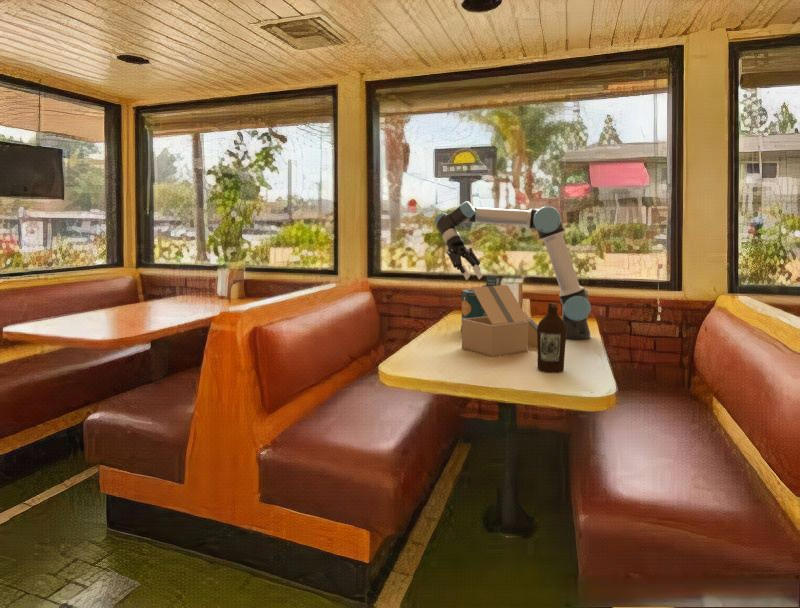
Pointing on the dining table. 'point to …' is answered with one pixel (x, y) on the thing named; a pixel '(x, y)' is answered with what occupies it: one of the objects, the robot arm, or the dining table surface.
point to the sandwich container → (532, 332)
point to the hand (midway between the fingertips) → (474, 277)
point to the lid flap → (500, 304)
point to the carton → (494, 336)
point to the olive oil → (551, 341)
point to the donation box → (475, 300)
